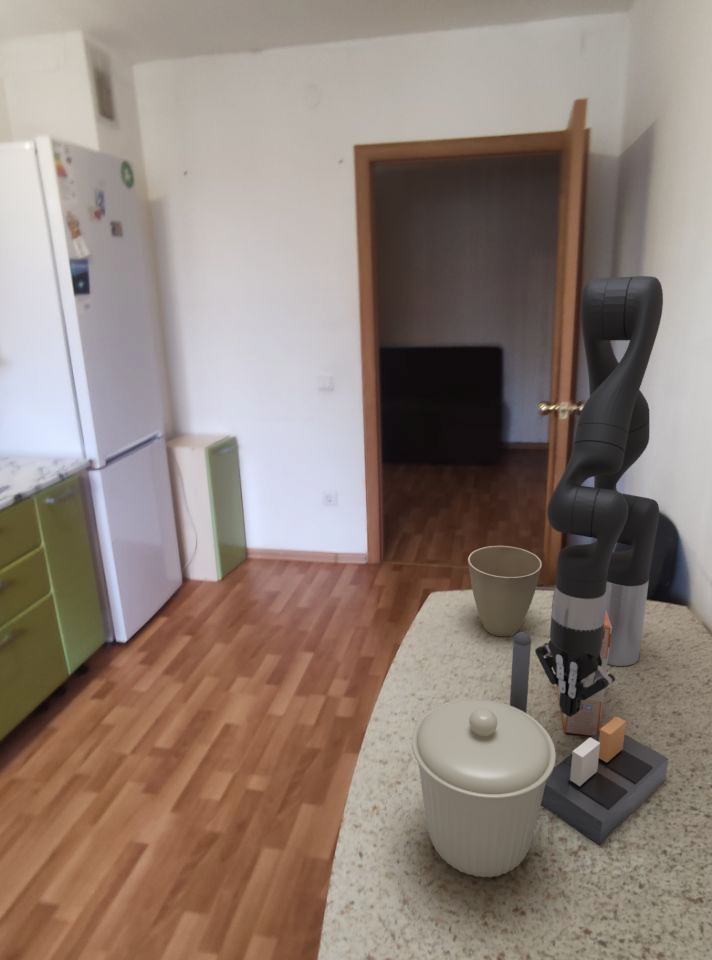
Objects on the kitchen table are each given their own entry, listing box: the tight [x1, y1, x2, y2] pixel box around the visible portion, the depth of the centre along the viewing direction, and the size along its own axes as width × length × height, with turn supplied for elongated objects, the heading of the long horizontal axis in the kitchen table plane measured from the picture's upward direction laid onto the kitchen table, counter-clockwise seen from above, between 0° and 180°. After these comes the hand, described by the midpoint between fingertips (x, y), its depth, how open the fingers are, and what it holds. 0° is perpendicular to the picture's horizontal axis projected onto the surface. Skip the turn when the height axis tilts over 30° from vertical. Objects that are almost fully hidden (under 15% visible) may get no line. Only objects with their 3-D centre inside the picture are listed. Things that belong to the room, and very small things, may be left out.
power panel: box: [541, 730, 669, 846], centre depth 97 cm, size 18×10×4 cm, turn 129°
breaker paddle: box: [599, 715, 627, 763], centre depth 98 cm, size 4×2×5 cm, turn 129°
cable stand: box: [509, 631, 532, 713], centre depth 96 cm, size 7×7×25 cm
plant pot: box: [467, 545, 543, 637], centre depth 139 cm, size 15×15×16 cm
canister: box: [411, 698, 557, 878], centre depth 86 cm, size 18×18×21 cm
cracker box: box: [556, 612, 612, 737], centre depth 112 cm, size 14×6×21 cm, turn 168°
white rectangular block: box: [570, 736, 600, 786], centre depth 94 cm, size 4×2×5 cm, turn 129°
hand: (569, 712), depth 103 cm, fingers closed
